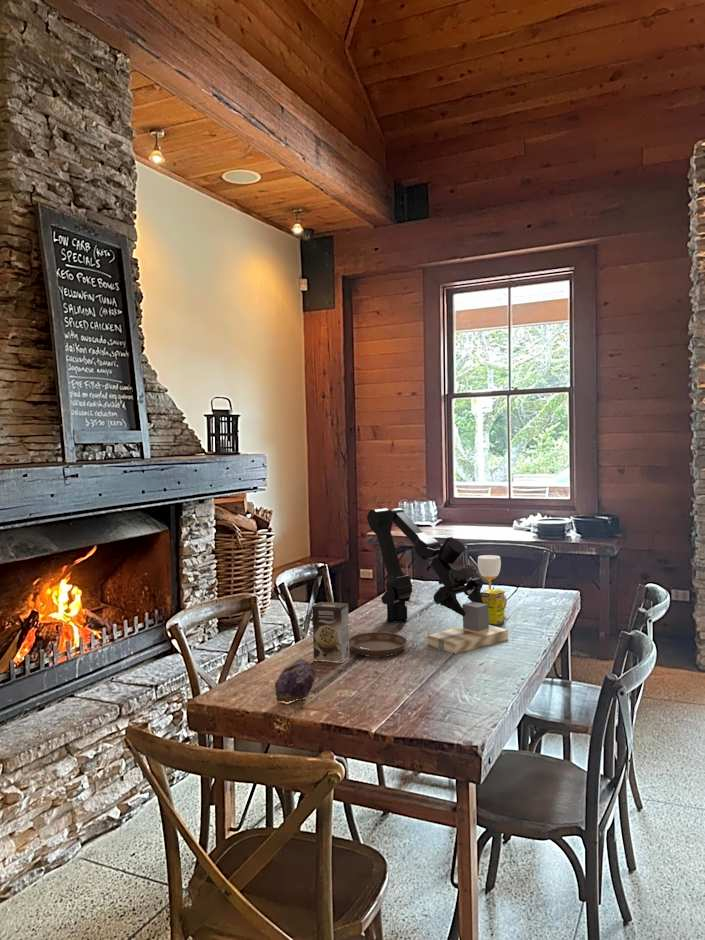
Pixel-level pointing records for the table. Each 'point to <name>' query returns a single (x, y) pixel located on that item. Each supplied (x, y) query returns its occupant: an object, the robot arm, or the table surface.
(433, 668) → the table surface
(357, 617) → the table surface
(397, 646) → the plant saucer
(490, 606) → the supplement box
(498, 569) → the cup
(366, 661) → the table surface
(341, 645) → the cookie box
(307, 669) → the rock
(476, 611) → the block
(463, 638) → the birch board
